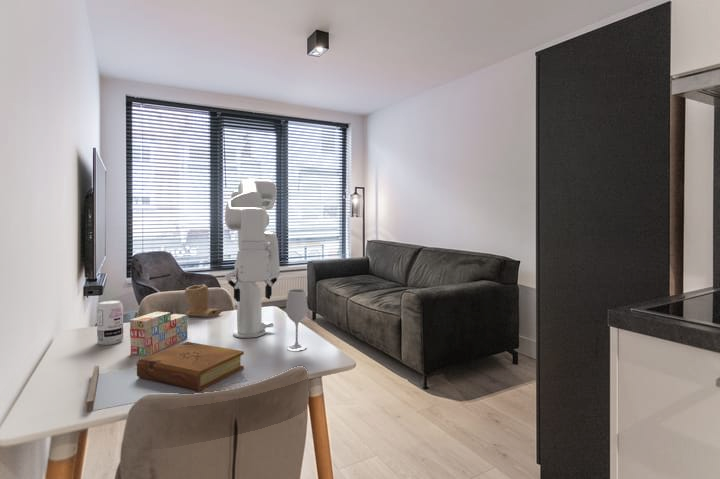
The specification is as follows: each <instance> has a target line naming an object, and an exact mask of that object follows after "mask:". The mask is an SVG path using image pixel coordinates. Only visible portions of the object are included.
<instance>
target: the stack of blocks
mask: <svg viewBox="0 0 720 479" xmlns="http://www.w3.org/2000/svg"><path fill="white" fill-rule="evenodd" d="M129 325H130V326H129V327H130V328H129V337H130V355H131V356H132V355H134V356H142V357H143V356H144V357H146V356H149V355H152V354H155V353H157V352H160V351H162V350H163V349H166V348H167V347H168V348H169V347H170V346H172V345H174V344H177V343H179V342H181V341H184V340H186V339H188V315H187V314H181V313H180V314H179V313H173V314H171V312H170V311H168V312H167V311H154V312H150V313H147V314H144V315H141V316H138V317H134V318H131V319H130V320H129Z"/></svg>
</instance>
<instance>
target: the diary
mask: <svg viewBox="0 0 720 479" xmlns="http://www.w3.org/2000/svg"><path fill="white" fill-rule="evenodd" d="M243 355H245V353H244V350H238V349H232V348H226V347H221V346H216V345H215V346H214V345H209V344H203V343H197V342H190V341H185V342H183V343H181V344H178V345H175V346H172V347H168V348H165V349H164V350H163V349H162V350H159V351H156V352H154V353H151V354H149V355H147V356H144V357H143V356H142V357H141V358H139V359H138V360H137V362H136V368H137V376H138V377H139V378H143V379H147V380H152V381H156V382H160V383H165V384H169V385H174V386H178V387H182V388H187V389H191V390H196V392H203V391H204V390H207V389H209V388H208V387H210V386H212V385H214V384H216V383H218V382H219V381H221V380H223V379H225V378H227V377H229V376H231V375H233V374H235V373H237V372H238V371H241V372H242V371H243V370H245V369H244V367H245V366H244V365H241V358H242V357H241V356H243ZM206 388H207V389H206Z"/></svg>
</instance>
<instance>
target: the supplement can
mask: <svg viewBox="0 0 720 479" xmlns="http://www.w3.org/2000/svg"><path fill="white" fill-rule="evenodd" d="M96 331H97V338H96V340H97V343H98V344H99V345H101V346H102V345H103V346H108V345H109V346H111V345H115V344H119V343H121V342H122V341H123V340H124V305H123V303H122V301H121V300H115V299H114V300H113V299H112V300H105V301H100V302H98V304H97V305H96Z"/></svg>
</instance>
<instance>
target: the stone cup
mask: <svg viewBox="0 0 720 479" xmlns="http://www.w3.org/2000/svg"><path fill="white" fill-rule="evenodd" d="M184 294H185V295H184V296H185V298H186V300H187V303H188V304H189V310H188V311H187V312H185V315H187V316H191V317H206V318H207V317H208V318H213V317H217V316H218V315H220V314H221V313H223V309H220V308H211V307H209V303H208V302H209V294H210V292H209V288H208V285H206V284H194V285H191V286H188V287H186V288H185V290H184Z"/></svg>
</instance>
